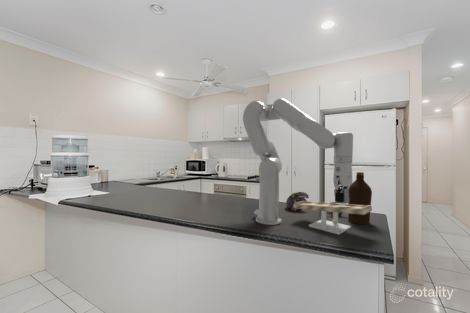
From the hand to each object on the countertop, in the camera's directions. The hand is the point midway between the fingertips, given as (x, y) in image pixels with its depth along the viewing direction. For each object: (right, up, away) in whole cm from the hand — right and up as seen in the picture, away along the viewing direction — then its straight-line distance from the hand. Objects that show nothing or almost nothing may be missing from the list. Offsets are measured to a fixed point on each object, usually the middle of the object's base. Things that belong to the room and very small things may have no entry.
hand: (341, 200), depth 102 cm
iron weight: (0, -1, 0) cm, 1 cm away
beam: (-4, -5, +4) cm, 7 cm away
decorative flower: (-11, -13, +36) cm, 40 cm away
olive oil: (+15, -14, +13) cm, 24 cm away
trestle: (-4, -13, +4) cm, 14 cm away
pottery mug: (+7, -13, +25) cm, 29 cm away
